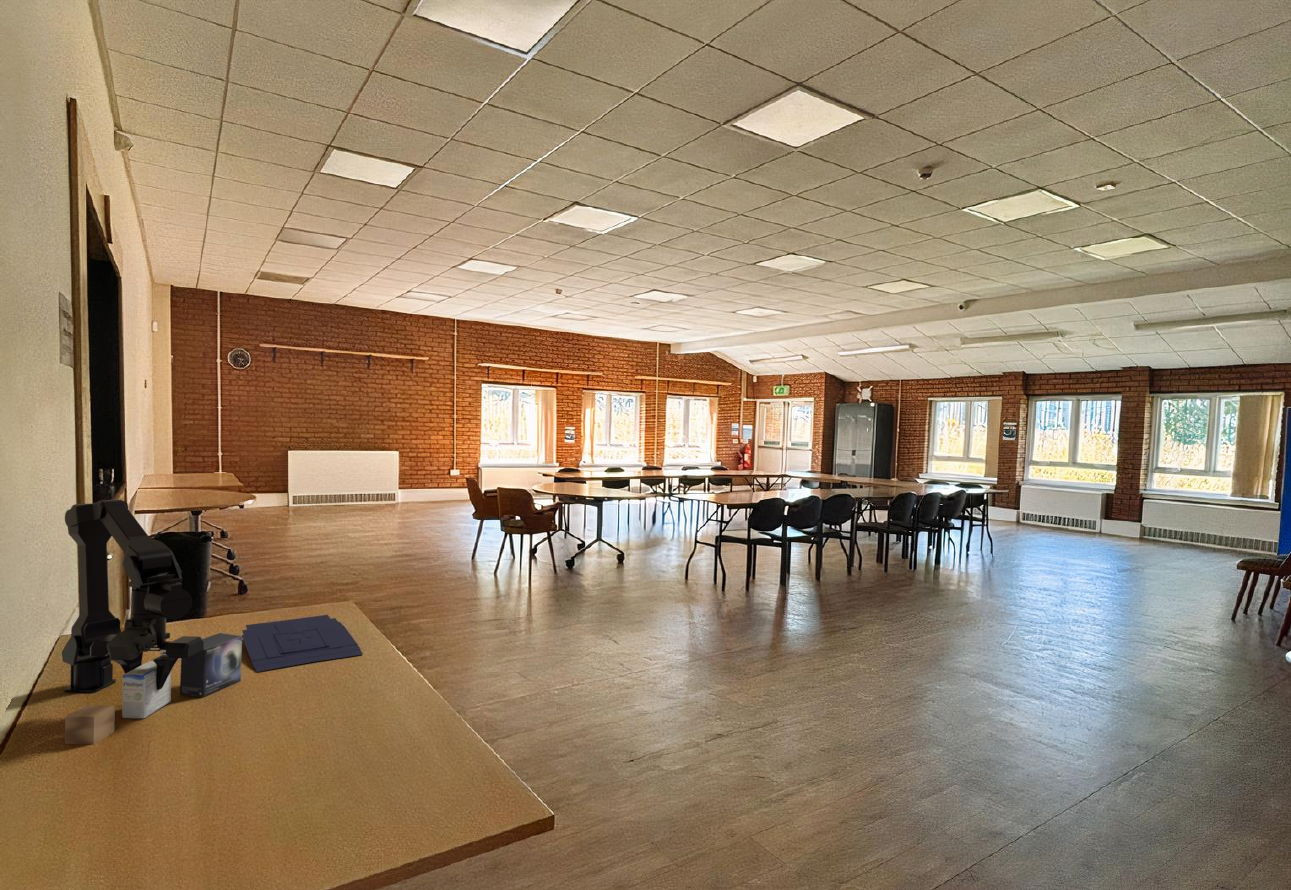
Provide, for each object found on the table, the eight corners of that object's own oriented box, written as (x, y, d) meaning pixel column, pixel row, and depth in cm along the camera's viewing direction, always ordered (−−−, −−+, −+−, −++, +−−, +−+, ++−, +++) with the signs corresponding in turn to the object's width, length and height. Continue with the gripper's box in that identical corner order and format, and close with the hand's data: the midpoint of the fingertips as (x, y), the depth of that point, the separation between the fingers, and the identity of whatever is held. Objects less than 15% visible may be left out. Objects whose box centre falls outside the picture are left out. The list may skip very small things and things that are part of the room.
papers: (334, 622, 199) (334, 610, 199) (363, 664, 176) (364, 650, 175) (236, 636, 184) (237, 622, 184) (255, 683, 161) (255, 668, 160)
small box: (204, 698, 145) (205, 648, 145) (177, 695, 146) (178, 645, 146) (242, 681, 155) (243, 634, 155) (218, 678, 157) (219, 632, 157)
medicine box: (149, 702, 142) (149, 660, 141) (171, 702, 142) (171, 660, 142) (121, 718, 134) (121, 674, 134) (144, 719, 134) (145, 674, 134)
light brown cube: (64, 744, 123) (65, 716, 123) (86, 732, 128) (87, 705, 128) (93, 744, 123) (94, 716, 123) (114, 732, 128) (114, 705, 128)
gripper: (68, 621, 129) (66, 704, 129) (170, 623, 130) (168, 706, 130) (112, 606, 140) (110, 682, 140) (206, 608, 141) (204, 684, 141)
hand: (147, 689), depth 138 cm, fingers closed on medicine box, 4 cm apart
